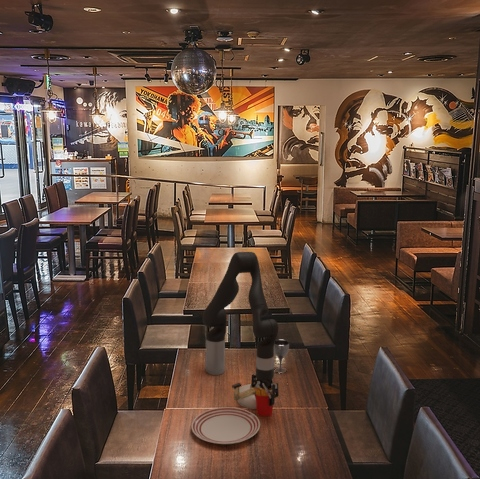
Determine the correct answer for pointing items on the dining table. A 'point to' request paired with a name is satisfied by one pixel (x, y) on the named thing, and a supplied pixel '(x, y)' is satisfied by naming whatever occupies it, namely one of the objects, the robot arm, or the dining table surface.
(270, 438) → the dining table surface
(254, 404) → the crank housing
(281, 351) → the wine glass
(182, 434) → the dining table surface
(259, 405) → the french fries
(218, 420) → the dinner plate
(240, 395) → the crank
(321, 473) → the dining table surface
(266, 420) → the dining table surface
